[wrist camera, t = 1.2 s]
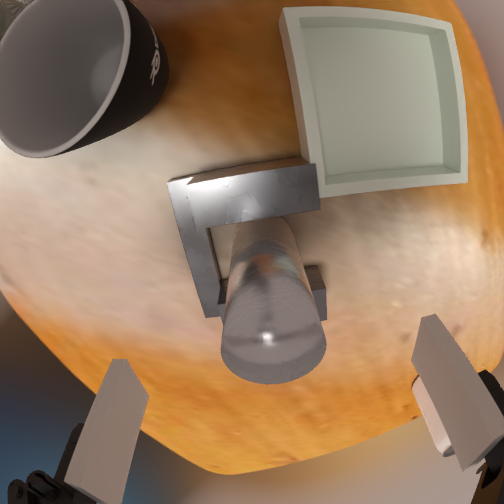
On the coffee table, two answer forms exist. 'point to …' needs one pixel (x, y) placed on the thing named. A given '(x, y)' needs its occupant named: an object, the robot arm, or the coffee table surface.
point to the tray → (376, 98)
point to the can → (432, 419)
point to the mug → (76, 74)
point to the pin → (269, 307)
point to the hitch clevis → (240, 216)
